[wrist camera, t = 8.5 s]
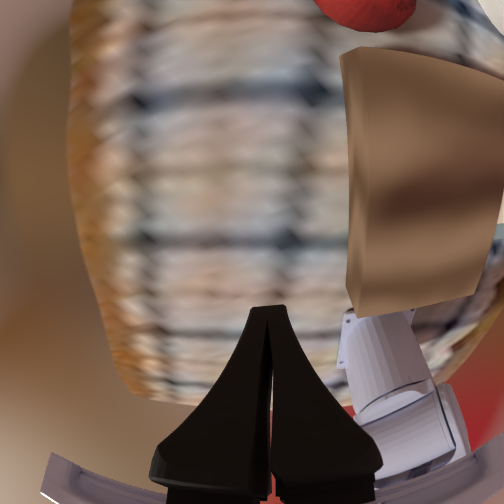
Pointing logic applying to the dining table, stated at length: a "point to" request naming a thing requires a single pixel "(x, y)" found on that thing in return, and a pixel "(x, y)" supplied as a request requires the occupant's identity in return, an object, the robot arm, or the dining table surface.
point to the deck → (419, 177)
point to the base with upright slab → (494, 12)
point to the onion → (368, 13)
